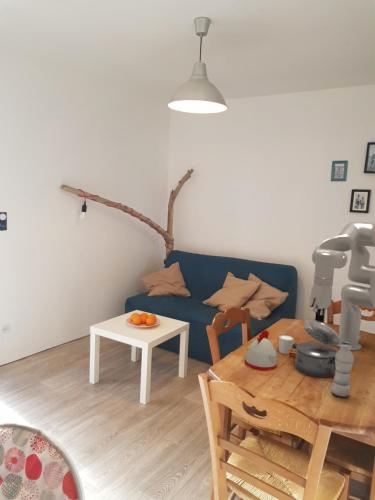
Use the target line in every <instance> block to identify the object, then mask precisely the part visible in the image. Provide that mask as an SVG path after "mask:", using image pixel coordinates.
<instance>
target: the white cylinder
mask: <svg viewBox="0 0 375 500" xmlns="http://www.w3.org/2000/svg"><path fill="white" fill-rule="evenodd" d="M294 340H295V339H294V337H293V336H291V335H285V334H283V335H279V336H278V352H279V353H281V354H283V355H290V354H289V350H290V349H292V350H293V348H292V345H293V344H294Z"/></svg>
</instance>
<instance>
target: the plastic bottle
mask: <svg viewBox="0 0 375 500" xmlns="http://www.w3.org/2000/svg"><path fill="white" fill-rule="evenodd" d="M336 352H337V353H336V355H335V367H334V374H333V378H332V379H333V380H332V382H331V386H330V387H331V389H330V390H331V392H332V394H333V395H335V396H336V397H341V398H342V397H343V398H345V397H348V396H349V394H351V372H352V368H353V365H354V361H355V358H354V355H353V353H352V350H351V344H350V343H347V342H341V343H340V347H339V350H337V351H336Z"/></svg>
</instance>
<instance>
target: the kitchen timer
mask: <svg viewBox="0 0 375 500" xmlns="http://www.w3.org/2000/svg"><path fill="white" fill-rule="evenodd" d="M269 335H270V332H269V330H267V329H265V330H263V331H261V332H260V334H258V337H257V338H256V339H254V340H253V342H252V343H250V345H249V346H247V347H246V353H245V357H244V364H245V363H246V364H247V365H248V366H249V367H248V366H247V365H246V364H245V365H246V366H247V367H248V368H250V367H251V369H253V370H256V371H263V372H268V371H270V372H271V371H274V370H275V369H277V367H278V351H276V350H275V348H274V346H273V343H272V342H271V341H270V340H269Z"/></svg>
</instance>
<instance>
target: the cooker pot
mask: <svg viewBox="0 0 375 500" xmlns="http://www.w3.org/2000/svg"><path fill="white" fill-rule="evenodd" d="M292 349H294V350H295V351H296V352H295V361H294V368H295V370H297V372H299V373H301V374H303V375H306V376H308V377H312V378H318V379H319V378H320V379H323V378H324V379H325V378H326V379H327V378H331V377H334V374H335V355H336V353H337V352H338V351H337V350H336V349H334V348H333V347H332V346H330V345H326V344H324V343H321V342H313V341H312V342H311V341H304V342H303V341H302V342H299V343H293V345H292Z"/></svg>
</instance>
